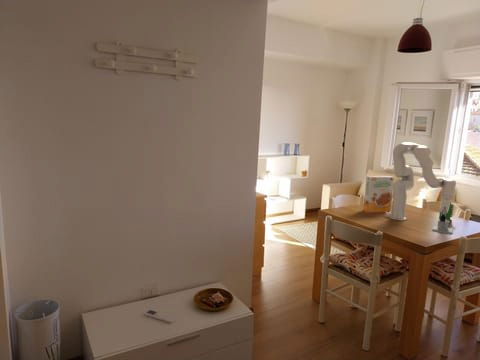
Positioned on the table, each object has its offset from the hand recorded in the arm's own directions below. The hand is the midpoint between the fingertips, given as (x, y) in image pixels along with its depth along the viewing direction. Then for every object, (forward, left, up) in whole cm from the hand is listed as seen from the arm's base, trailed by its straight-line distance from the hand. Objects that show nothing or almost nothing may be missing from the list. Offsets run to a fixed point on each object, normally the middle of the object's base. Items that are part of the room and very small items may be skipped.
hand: (442, 219), depth 245 cm
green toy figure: (+1, +26, -8) cm, 27 cm away
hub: (+1, 0, -5) cm, 5 cm away
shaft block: (+1, 0, -8) cm, 8 cm away
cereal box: (-50, +26, -8) cm, 57 cm away
